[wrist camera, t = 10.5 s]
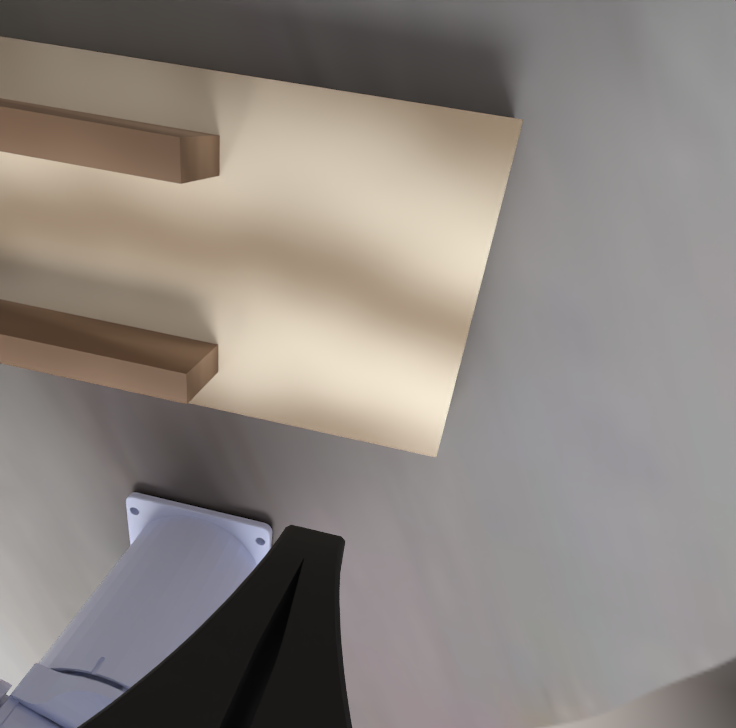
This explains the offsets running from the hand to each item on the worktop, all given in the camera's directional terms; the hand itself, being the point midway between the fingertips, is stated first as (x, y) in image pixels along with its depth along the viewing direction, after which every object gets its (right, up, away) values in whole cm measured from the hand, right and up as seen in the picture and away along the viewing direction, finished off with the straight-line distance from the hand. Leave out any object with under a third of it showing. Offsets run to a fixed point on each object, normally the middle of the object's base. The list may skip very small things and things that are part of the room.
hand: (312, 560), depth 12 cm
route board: (-10, +11, +8) cm, 17 cm away
